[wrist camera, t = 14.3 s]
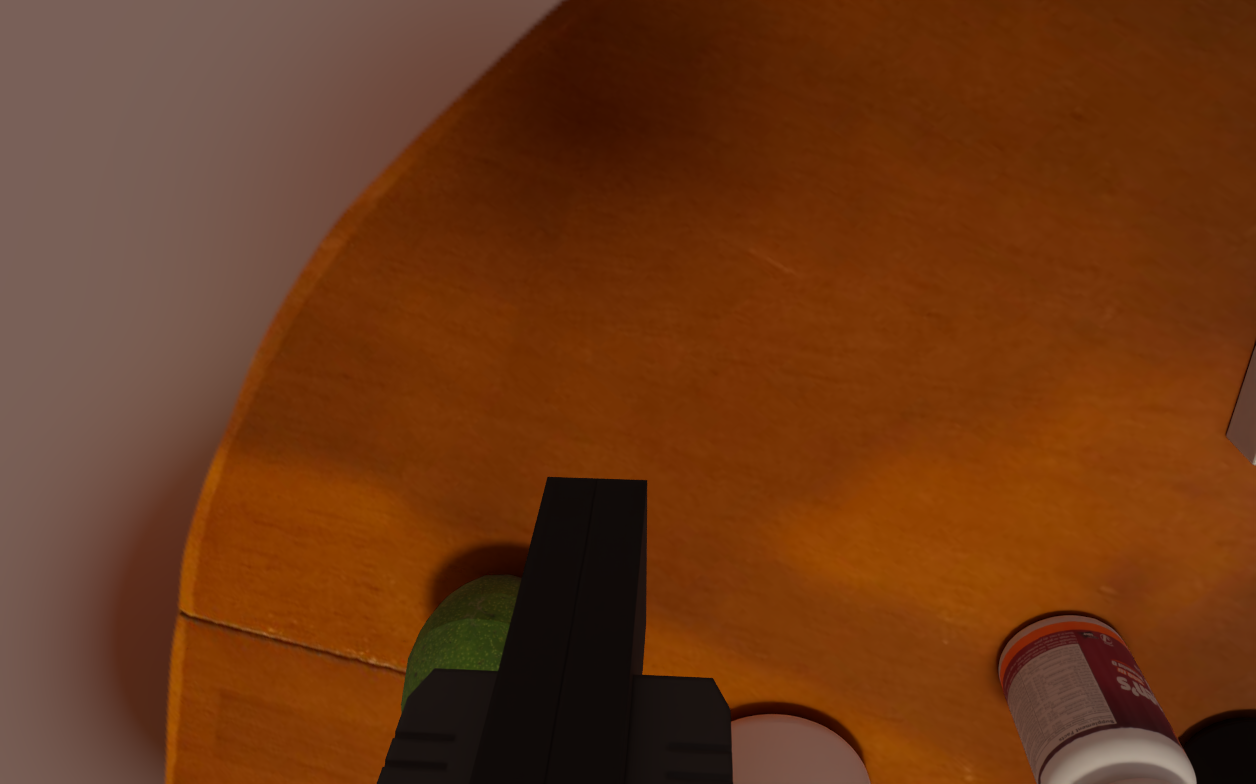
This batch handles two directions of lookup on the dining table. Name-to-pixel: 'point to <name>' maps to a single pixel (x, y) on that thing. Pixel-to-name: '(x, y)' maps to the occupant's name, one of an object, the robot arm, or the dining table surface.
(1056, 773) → the pill bottle
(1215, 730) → the beverage can
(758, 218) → the dining table surface
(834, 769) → the cup
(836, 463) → the dining table surface
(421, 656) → the fruit
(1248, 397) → the stepped grey block
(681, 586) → the dining table surface
